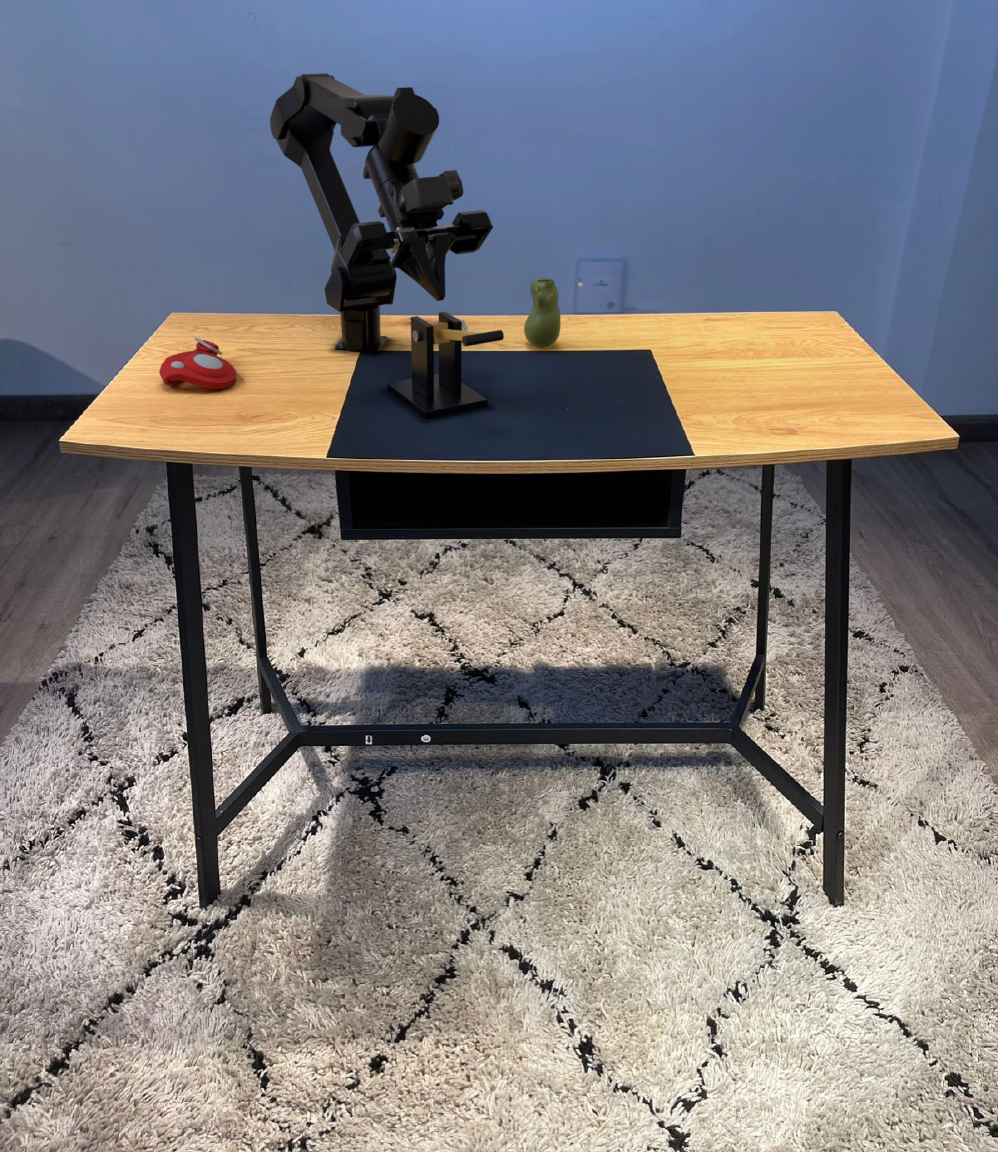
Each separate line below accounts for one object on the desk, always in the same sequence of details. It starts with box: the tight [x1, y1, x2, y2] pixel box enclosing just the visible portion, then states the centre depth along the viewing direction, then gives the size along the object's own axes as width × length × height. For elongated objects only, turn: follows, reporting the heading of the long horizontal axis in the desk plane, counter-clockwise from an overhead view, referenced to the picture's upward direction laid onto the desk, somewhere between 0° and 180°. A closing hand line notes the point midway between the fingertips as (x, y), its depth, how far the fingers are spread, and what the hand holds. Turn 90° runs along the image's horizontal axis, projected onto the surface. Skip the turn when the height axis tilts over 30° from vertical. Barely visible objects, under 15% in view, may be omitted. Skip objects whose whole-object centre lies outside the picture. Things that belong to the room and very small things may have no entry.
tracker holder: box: [158, 336, 237, 390], centre depth 137 cm, size 12×4×10 cm
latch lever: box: [428, 321, 505, 347], centre depth 124 cm, size 14×5×2 cm, turn 31°
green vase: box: [523, 277, 562, 348], centre depth 150 cm, size 6×5×10 cm
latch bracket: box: [386, 311, 488, 420], centre depth 131 cm, size 11×9×11 cm
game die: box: [456, 317, 469, 331], centre depth 153 cm, size 4×4×3 cm
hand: (441, 298), depth 126 cm, fingers closed
